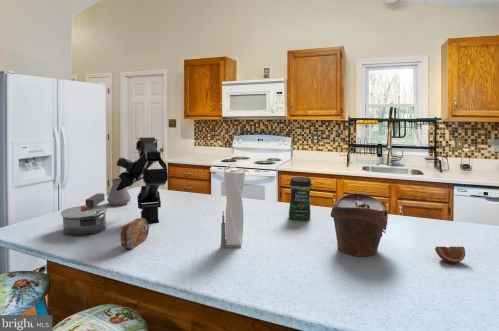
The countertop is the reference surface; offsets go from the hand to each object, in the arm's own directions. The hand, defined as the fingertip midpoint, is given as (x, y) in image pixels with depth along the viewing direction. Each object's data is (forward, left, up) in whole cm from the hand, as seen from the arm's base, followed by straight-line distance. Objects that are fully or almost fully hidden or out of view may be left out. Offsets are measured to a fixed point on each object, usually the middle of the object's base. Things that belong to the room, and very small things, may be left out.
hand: (117, 190), depth 147 cm
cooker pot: (+13, +8, -13) cm, 20 cm away
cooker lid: (+11, +5, -6) cm, 14 cm away
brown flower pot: (-74, +66, -13) cm, 100 cm away
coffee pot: (-6, -28, -13) cm, 32 cm away
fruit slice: (-94, +84, -13) cm, 126 cm away
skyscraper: (-37, +45, -13) cm, 59 cm away
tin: (-5, +33, -13) cm, 36 cm away
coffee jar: (-75, +26, -13) cm, 80 cm away
